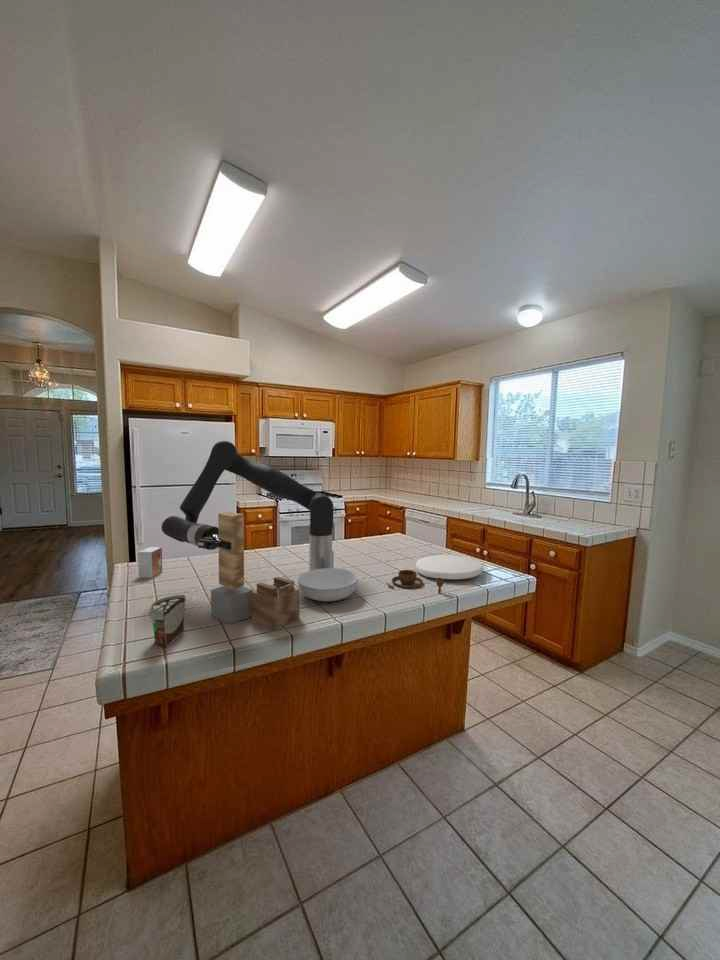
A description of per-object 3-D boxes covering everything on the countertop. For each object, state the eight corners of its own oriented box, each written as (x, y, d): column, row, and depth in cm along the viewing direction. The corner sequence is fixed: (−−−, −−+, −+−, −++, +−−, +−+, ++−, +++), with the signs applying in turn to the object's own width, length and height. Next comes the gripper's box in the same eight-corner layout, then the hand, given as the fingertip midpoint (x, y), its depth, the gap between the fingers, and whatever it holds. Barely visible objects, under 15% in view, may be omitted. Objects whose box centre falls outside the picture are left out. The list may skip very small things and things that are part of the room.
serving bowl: (292, 589, 142) (292, 571, 141) (346, 583, 149) (346, 565, 149) (305, 612, 122) (305, 591, 122) (366, 603, 130) (367, 583, 130)
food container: (165, 627, 111) (164, 593, 110) (186, 628, 111) (185, 594, 110) (139, 649, 99) (138, 611, 98) (163, 650, 98) (162, 612, 98)
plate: (416, 570, 151) (413, 553, 178) (417, 586, 152) (414, 566, 178) (489, 566, 148) (475, 548, 175) (490, 582, 149) (476, 562, 175)
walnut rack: (277, 610, 124) (276, 574, 123) (299, 618, 118) (299, 581, 117) (251, 621, 116) (251, 583, 115) (274, 630, 110) (273, 591, 109)
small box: (152, 578, 152) (151, 552, 151) (138, 578, 152) (137, 551, 151) (163, 571, 160) (162, 547, 159) (149, 571, 160) (148, 546, 159)
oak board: (230, 580, 122) (229, 511, 121) (244, 585, 118) (243, 514, 116) (219, 584, 119) (218, 513, 117) (232, 589, 115) (232, 516, 113)
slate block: (233, 606, 126) (233, 582, 125) (253, 615, 120) (253, 589, 119) (211, 615, 119) (210, 590, 119) (231, 624, 113) (230, 597, 113)
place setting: (421, 577, 158) (421, 563, 158) (446, 595, 139) (446, 579, 139) (381, 581, 153) (381, 567, 153) (401, 600, 134) (401, 584, 134)
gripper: (183, 528, 120) (215, 536, 110) (223, 521, 132) (256, 528, 121) (183, 551, 121) (215, 562, 111) (223, 543, 132) (256, 552, 122)
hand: (236, 544), depth 116 cm, fingers closed on oak board, 4 cm apart
